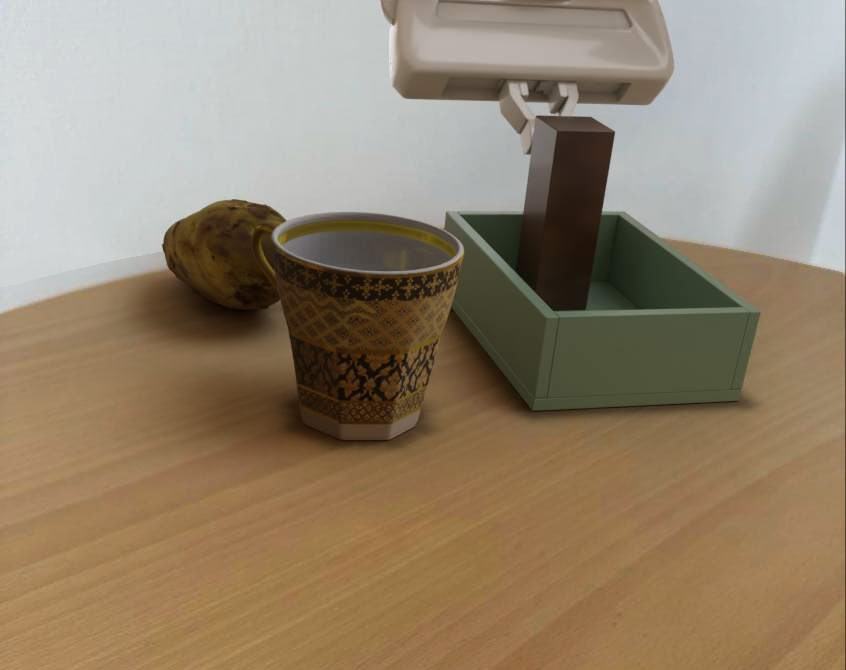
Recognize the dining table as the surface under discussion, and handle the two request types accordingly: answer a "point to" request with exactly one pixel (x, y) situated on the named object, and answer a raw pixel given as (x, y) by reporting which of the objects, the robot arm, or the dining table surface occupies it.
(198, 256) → the potato
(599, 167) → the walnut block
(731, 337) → the bin
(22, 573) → the dining table surface
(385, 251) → the ceramic cup
